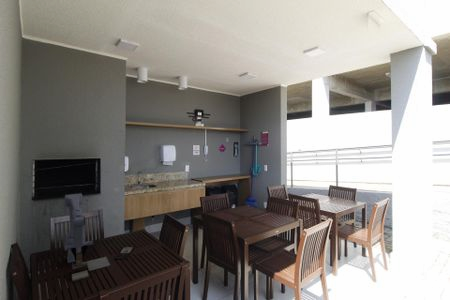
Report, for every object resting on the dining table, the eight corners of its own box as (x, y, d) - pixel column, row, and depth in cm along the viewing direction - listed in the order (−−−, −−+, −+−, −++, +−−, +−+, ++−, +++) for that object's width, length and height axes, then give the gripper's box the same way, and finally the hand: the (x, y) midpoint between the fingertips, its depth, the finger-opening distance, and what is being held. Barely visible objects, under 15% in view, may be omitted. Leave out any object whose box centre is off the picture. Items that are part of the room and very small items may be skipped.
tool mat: (86, 262, 160) (86, 261, 160) (106, 257, 167) (106, 256, 167) (88, 271, 149) (89, 270, 149) (110, 265, 156) (110, 265, 156)
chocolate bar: (113, 259, 164) (122, 247, 182) (113, 260, 164) (122, 248, 182) (127, 258, 165) (134, 247, 183) (127, 259, 165) (134, 248, 183)
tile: (71, 274, 144) (72, 279, 138) (87, 270, 149) (88, 275, 143) (71, 277, 144) (72, 282, 138) (87, 272, 149) (88, 278, 143)
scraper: (72, 266, 147) (72, 253, 147) (85, 262, 151) (85, 250, 151) (72, 268, 144) (72, 256, 143) (86, 265, 148) (86, 253, 147)
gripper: (64, 241, 139) (65, 265, 140) (93, 236, 148) (93, 258, 148) (64, 237, 145) (64, 260, 145) (91, 232, 153) (92, 254, 154)
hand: (79, 259), depth 147 cm, fingers closed on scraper, 3 cm apart
